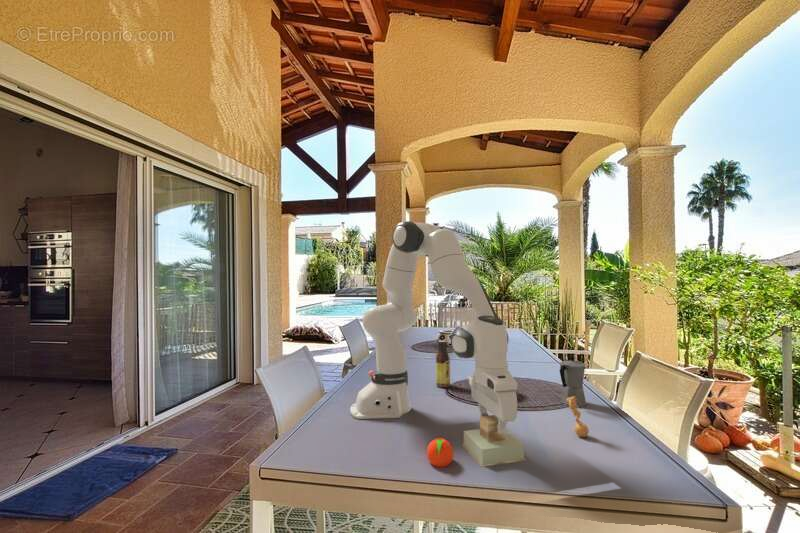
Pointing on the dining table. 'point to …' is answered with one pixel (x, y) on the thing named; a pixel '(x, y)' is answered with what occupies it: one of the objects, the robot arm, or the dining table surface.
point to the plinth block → (493, 448)
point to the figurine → (580, 427)
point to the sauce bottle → (442, 365)
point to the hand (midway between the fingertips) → (492, 425)
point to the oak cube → (490, 428)
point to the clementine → (440, 452)
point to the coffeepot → (572, 381)
